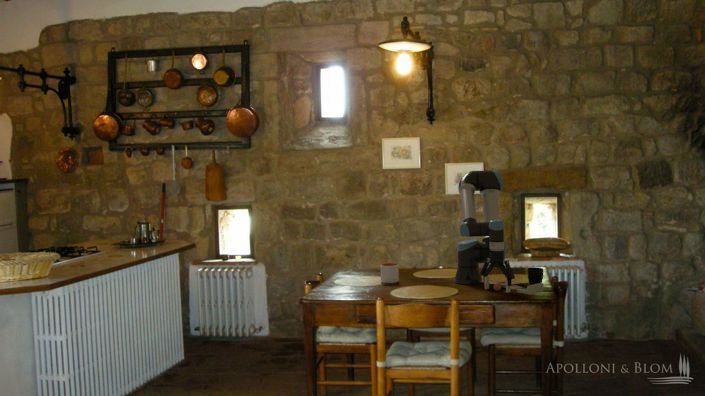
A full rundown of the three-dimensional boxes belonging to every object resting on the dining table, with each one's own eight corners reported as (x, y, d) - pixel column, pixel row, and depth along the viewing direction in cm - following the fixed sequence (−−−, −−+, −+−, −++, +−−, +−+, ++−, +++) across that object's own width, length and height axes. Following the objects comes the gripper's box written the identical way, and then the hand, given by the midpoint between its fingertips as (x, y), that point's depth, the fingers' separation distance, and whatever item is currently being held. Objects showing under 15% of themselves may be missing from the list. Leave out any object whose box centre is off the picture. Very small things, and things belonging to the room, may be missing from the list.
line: (519, 291, 346) (519, 290, 346) (527, 289, 350) (527, 288, 350) (520, 291, 345) (520, 290, 345) (528, 289, 350) (528, 288, 350)
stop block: (517, 292, 344) (517, 284, 344) (530, 289, 351) (530, 281, 351) (530, 294, 338) (530, 286, 338) (543, 291, 345) (543, 283, 345)
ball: (491, 290, 350) (491, 283, 350) (496, 289, 353) (496, 282, 352) (498, 291, 347) (497, 284, 347) (502, 290, 350) (502, 283, 349)
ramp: (496, 288, 357) (496, 283, 357) (504, 286, 362) (504, 281, 361) (519, 291, 346) (519, 286, 346) (527, 289, 350) (527, 284, 350)
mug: (532, 289, 350) (531, 271, 350) (525, 285, 362) (525, 267, 362) (547, 289, 351) (547, 270, 350) (540, 284, 363) (540, 267, 362)
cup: (385, 284, 375) (384, 266, 374) (377, 281, 384) (377, 264, 384) (401, 282, 379) (401, 265, 378) (393, 279, 388) (393, 262, 387)
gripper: (473, 248, 355) (473, 288, 357) (512, 252, 336) (512, 294, 337) (482, 247, 360) (482, 286, 361) (521, 251, 341) (521, 292, 342)
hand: (497, 290), depth 349 cm, fingers open, 13 cm apart
